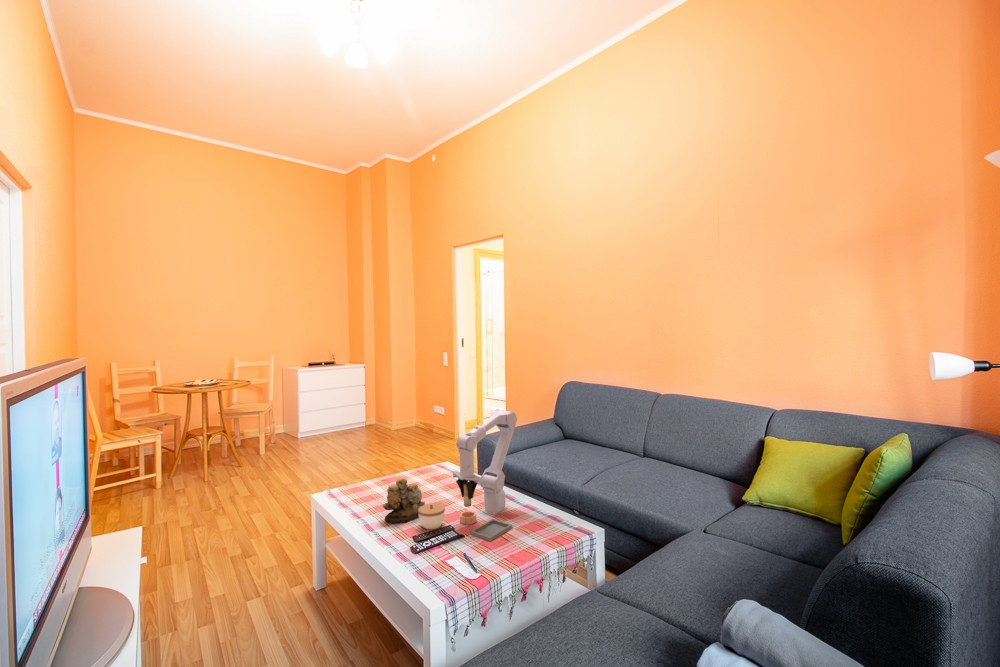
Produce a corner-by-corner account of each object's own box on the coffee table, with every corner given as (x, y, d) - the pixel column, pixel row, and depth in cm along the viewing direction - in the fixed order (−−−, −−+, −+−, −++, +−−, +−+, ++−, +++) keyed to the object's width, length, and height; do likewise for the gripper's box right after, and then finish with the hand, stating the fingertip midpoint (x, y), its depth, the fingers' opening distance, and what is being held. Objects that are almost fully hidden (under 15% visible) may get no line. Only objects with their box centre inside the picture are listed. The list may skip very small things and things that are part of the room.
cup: (467, 517, 198) (467, 509, 198) (479, 521, 194) (479, 513, 194) (456, 522, 193) (456, 515, 193) (468, 526, 189) (468, 519, 189)
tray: (492, 523, 192) (492, 518, 192) (512, 529, 186) (512, 524, 186) (470, 535, 181) (470, 531, 181) (490, 542, 175) (490, 538, 175)
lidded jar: (420, 534, 183) (419, 511, 183) (417, 523, 193) (416, 501, 193) (447, 531, 186) (446, 507, 185) (443, 520, 196) (442, 498, 196)
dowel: (467, 503, 195) (466, 482, 195) (472, 505, 193) (472, 483, 193) (462, 505, 193) (462, 484, 193) (467, 507, 191) (467, 485, 191)
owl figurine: (386, 527, 190) (385, 486, 190) (379, 517, 201) (378, 478, 200) (428, 517, 199) (427, 477, 199) (419, 508, 209) (418, 470, 209)
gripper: (447, 464, 194) (448, 496, 194) (473, 470, 185) (474, 504, 185) (458, 460, 200) (459, 491, 200) (485, 465, 191) (485, 498, 191)
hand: (467, 497), depth 193 cm, fingers closed on dowel, 3 cm apart
